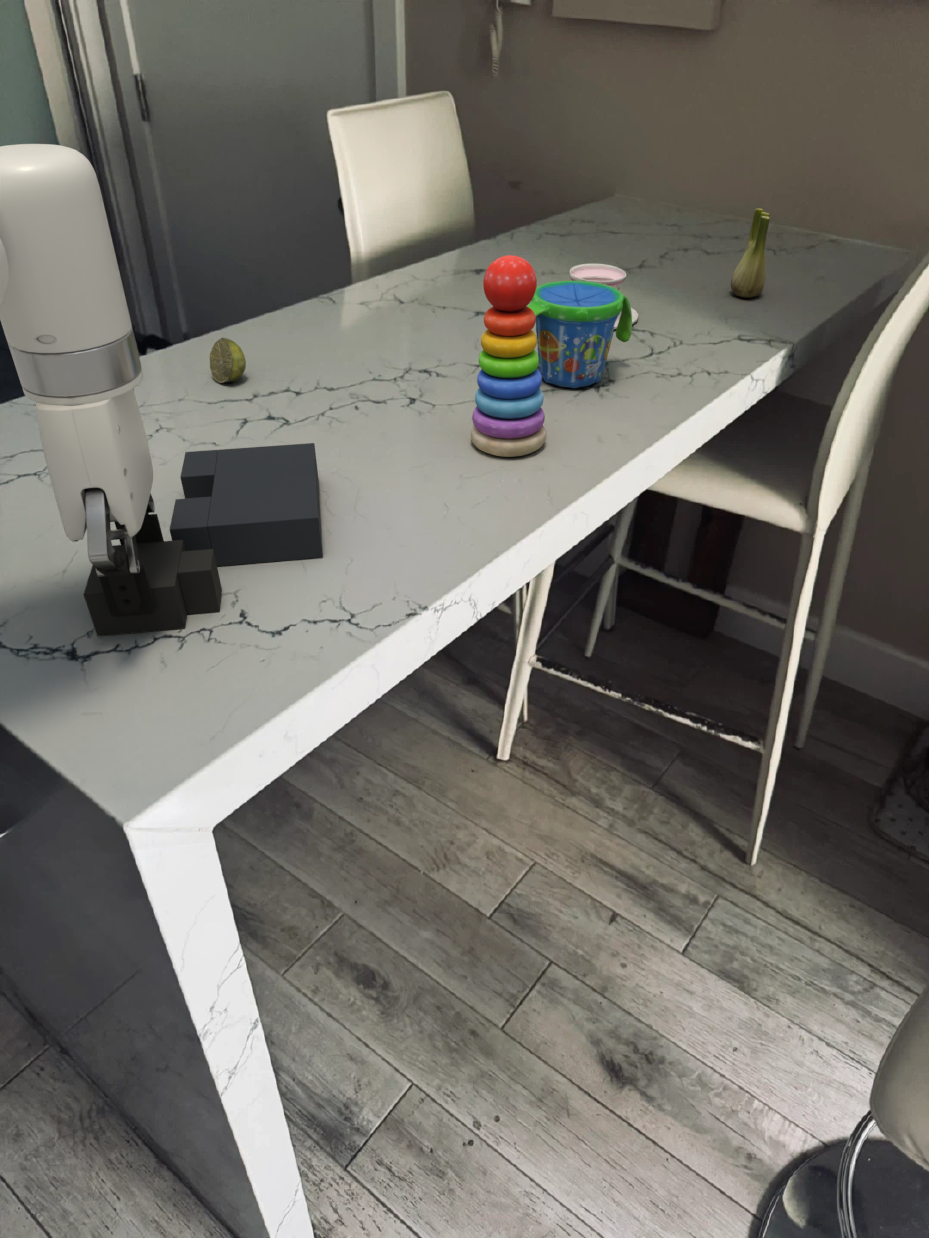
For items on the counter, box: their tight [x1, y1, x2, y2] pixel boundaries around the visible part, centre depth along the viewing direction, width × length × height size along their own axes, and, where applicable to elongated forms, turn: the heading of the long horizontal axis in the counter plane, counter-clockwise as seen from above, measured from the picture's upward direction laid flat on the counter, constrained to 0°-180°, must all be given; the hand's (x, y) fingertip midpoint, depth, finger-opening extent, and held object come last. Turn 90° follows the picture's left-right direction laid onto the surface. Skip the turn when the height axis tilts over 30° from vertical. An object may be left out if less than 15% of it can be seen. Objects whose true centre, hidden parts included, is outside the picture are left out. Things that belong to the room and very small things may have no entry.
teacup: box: [568, 263, 639, 330], centre depth 122 cm, size 12×12×6 cm
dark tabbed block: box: [83, 540, 223, 637], centre depth 68 cm, size 9×6×4 cm
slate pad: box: [169, 442, 324, 567], centre depth 78 cm, size 12×14×4 cm
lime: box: [209, 337, 247, 384], centre depth 104 cm, size 4×5×5 cm
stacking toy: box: [470, 254, 547, 458], centre depth 86 cm, size 8×8×19 cm
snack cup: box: [527, 280, 633, 389], centre depth 103 cm, size 16×10×10 cm
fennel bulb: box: [730, 207, 771, 298], centre depth 128 cm, size 6×5×12 cm
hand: (140, 583), depth 68 cm, fingers closed on dark tabbed block, 6 cm apart
